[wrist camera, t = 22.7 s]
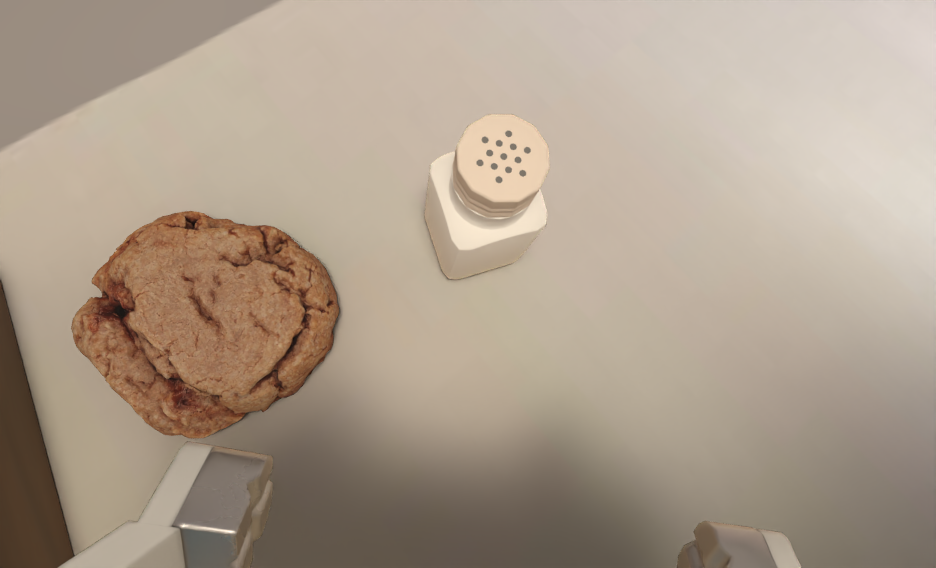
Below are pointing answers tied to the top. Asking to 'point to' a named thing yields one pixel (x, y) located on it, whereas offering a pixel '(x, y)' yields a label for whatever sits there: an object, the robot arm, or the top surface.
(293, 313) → the cookie
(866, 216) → the top surface
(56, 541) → the spice caddy
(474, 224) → the pepper shaker
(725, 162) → the top surface
